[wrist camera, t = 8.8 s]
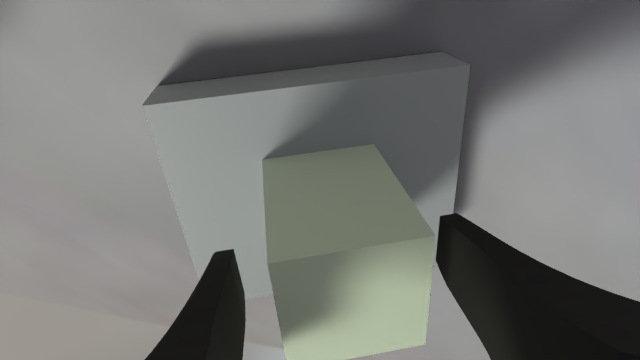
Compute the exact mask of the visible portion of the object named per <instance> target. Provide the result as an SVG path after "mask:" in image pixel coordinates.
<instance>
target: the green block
mask: <svg viewBox="0 0 640 360" xmlns="http://www.w3.org/2000/svg"><path fill="white" fill-rule="evenodd" d="M262 170H263V190H264V209H265V229H266V248H267V265H268V270H269V275H270V280H271V285H272V290H273V295H274V300H275V305H276V310H277V316H278V321H279V326H280V331H281V336H282V341H283V346H284V351H285V356H286V360H346V359H351V358H357V357H362V356H367V355H372V354H377V353H383V352H388V351H393V350H398V349H403V348H409V347H414V346H419V345H424V344H425V342H426V331H427V321H428V310H429V300H430V289H431V278H432V268H433V257H434V247H435V234H434V233H433V231H432V230H431V228H430V227H429V225H428V224H427V222H426V221H425V219H424V218H423V216H422V215H421V213H420V212H419V210H418V209H417V207H416V206H415V204H414V203H413V201H412V200H411V198H410V197H409V196H408V194H407V193H406V191H405V190H404V188H403V187H402V185H401V184H400V182H399V181H398V179H397V178H396V176H395V175H394V173H393V172H392V170H391V169H390V167H389V166H388V164H387V163H386V161H385V160H384V158H383V157H382V155H381V154H380V152H379V151H378V149H377V148H376V146H375V145H374V144H370V145H363V146H356V147H349V148H342V149H334V150H327V151H320V152H313V153H306V154H298V155H291V156H284V157H277V158H270V159H262Z"/></svg>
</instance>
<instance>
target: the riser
mask: <svg viewBox="0 0 640 360" xmlns="http://www.w3.org/2000/svg"><path fill="white" fill-rule="evenodd" d="M469 73H470V65H469V64H467V63H465V62H463V61H461V60H459V59H457V58H455V57H452V56H450V55H448V54H446V53H444V52H435V53H426V54H418V55H410V56H401V57H393V58H385V59H376V60H368V61H360V62H352V63H343V64H335V65H327V66H318V67H310V68H302V69H293V70H285V71H277V72H268V73H260V74H252V75H243V76H235V77H227V78H218V79H210V80H202V81H193V82H185V83H177V84H169V85H160V86H157V87H156V88H155V89H154V90H153V92H152V93H151V94H150V96H149V97H148V98H147V100H146V101H145V102H144V104H143V105H142V109H143V112H144V115H145V118H146V121H147V124H148V127H149V130H150V133H151V136H152V139H153V142H154V145H155V148H156V151H157V154H158V157H159V160H160V163H161V166H162V169H163V172H164V175H165V179H166V182H167V185H168V188H169V191H170V194H171V197H172V200H173V203H174V206H175V209H176V212H177V215H178V218H179V221H180V224H181V227H182V230H183V233H184V236H185V239H186V242H187V245H188V248H189V251H190V254H191V258H192V261H193V264H194V267H195V270H196V273H197V276H198V279H199V281H200V279H201V277H202V275H203V273H204V271H205V269H206V267H207V265H208V263H209V261H210V259H211V257H212V255H213V254H214V253H215V252H217V251H223V250H230V249H234V253H235V257H236V260H237V264H238V268H239V272H240V276H241V280H242V284H243V288H244V292H245V300H247V299H252V298H258V297H264V296H270V295H273V290H272V285H271V280H270V275H269V270H268V265H267V248H266V229H265V209H264V190H263V170H262V159H270V158H277V157H284V156H291V155H298V154H306V153H313V152H320V151H327V150H334V149H342V148H349V147H356V146H363V145H370V144H374V145H375V146H376V148H377V149H378V151H379V152H380V154H381V155H382V157H383V158H384V160H385V161H386V163H387V164H388V166H389V167H390V169H391V170H392V172H393V173H394V175H395V176H396V178H397V179H398V181H399V182H400V184H401V185H402V187H403V188H404V190H405V191H406V193H407V194H408V196H409V197H410V198H411V200H412V201H413V203H414V204H415V206H416V207H417V209H418V210H419V212H420V213H421V215H422V216H423V218H424V219H425V221H426V222H427V224H428V225H429V227H430V228H431V230H432V231H433V233H434V234H435V247H434V257H433V267H436V266H438V264H437V262H436V251H437V241H438V230H439V220H440V216H442V215H449V214H453V210H454V202H455V193H456V185H457V176H458V168H459V159H460V151H461V142H462V133H463V125H464V116H465V108H466V99H467V91H468V82H469Z"/></svg>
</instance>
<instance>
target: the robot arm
mask: <svg viewBox="0 0 640 360" xmlns="http://www.w3.org/2000/svg"><path fill="white" fill-rule="evenodd" d="M436 262H437V264H438V267H439V269H440V271H441V274H442V276H443V278H444V280H445V282H446V284H447V286H448V288H449V290H450V291H451V293H452V295H453V296H454V298H455V300H456V301H457V303H458V304H459V306H460V308H461V309H462V311H463V312H464V314H465V316H466V317H467V319H468V320H469V322H470V324H471V325H472V327H473V329H474V330H475V332H476V333H477V335H478V337H479V338H480V340H481V342H482V343H483V345H484V347H485V349H486V350H487V352H488V354H489V356H490V358H491V360H640V302H638V301H635V300H632V299H629V298H626V297H623V296H620V295H617V294H614V293H611V292H608V291H606V290H603V289H600V288H598V287H595V286H593V285H590V284H587V283H585V282H582V281H580V280H578V279H575V278H573V277H571V276H568V275H566V274H564V273H562V272H560V271H557V270H555V269H553V268H551V267H549V266H547V265H545V264H543V263H541V262H539V261H537V260H535V259H533V258H531V257H529V256H527V255H526V254H524V253H522V252H520V251H518V250H517V249H515V248H513V247H511V246H510V245H508V244H506V243H504V242H503V241H501V240H499V239H498V238H496V237H495V236H493V235H491V234H490V233H488V232H486V231H485V230H483V229H482V228H480V227H478V226H477V225H475V224H474V223H472V222H470V221H469V220H467V219H466V218H464V217H462V216H461V215H459V214H457V213H455V214H449V215H442V216H440V220H439V230H438V241H437V251H436ZM245 321H246V320H245V292H244V288H243V284H242V280H241V276H240V272H239V268H238V264H237V260H236V257H235V253H234V249H230V250H223V251H217V252H215V253H214V254H213V255H212V257H211V259H210V261H209V263H208V265H207V267H206V269H205V271H204V273H203V275H202V277H201V279H200V281H199V282H198V284H197V286H196V288H195V289H194V291H193V293H192V294H191V296H190V298H189V300H188V301H187V303H186V304H185V306H184V307H183V309H182V310H181V312H180V313H179V315H178V317H177V318H176V320H175V321H174V323H173V324H172V325H171V327H170V328H169V330H168V331H167V333H166V334H165V335H164V336H163V338H162V339H161V341H160V342H159V343H158V344H157V346H156V347H155V348H154V349H153V351H152V352H151V353H150V354H149V355H148V357H147V358H146V359H145V360H242V357H243V346H244V334H245Z"/></svg>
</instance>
